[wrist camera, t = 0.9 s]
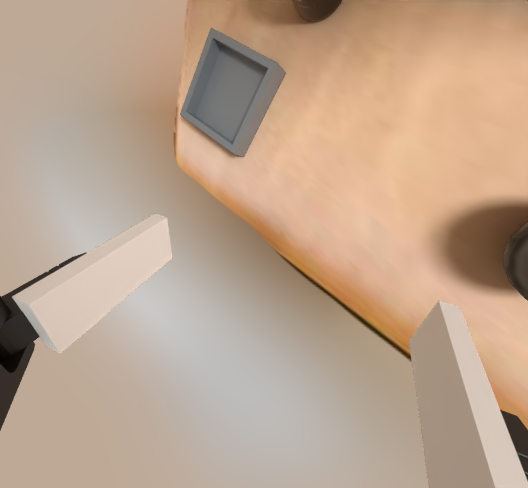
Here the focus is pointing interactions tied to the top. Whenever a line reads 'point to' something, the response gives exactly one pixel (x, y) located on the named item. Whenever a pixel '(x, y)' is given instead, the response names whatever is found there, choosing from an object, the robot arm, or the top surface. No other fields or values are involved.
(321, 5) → the supplement bottle
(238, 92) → the tray
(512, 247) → the decorative stone
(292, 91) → the top surface
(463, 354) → the robot arm
